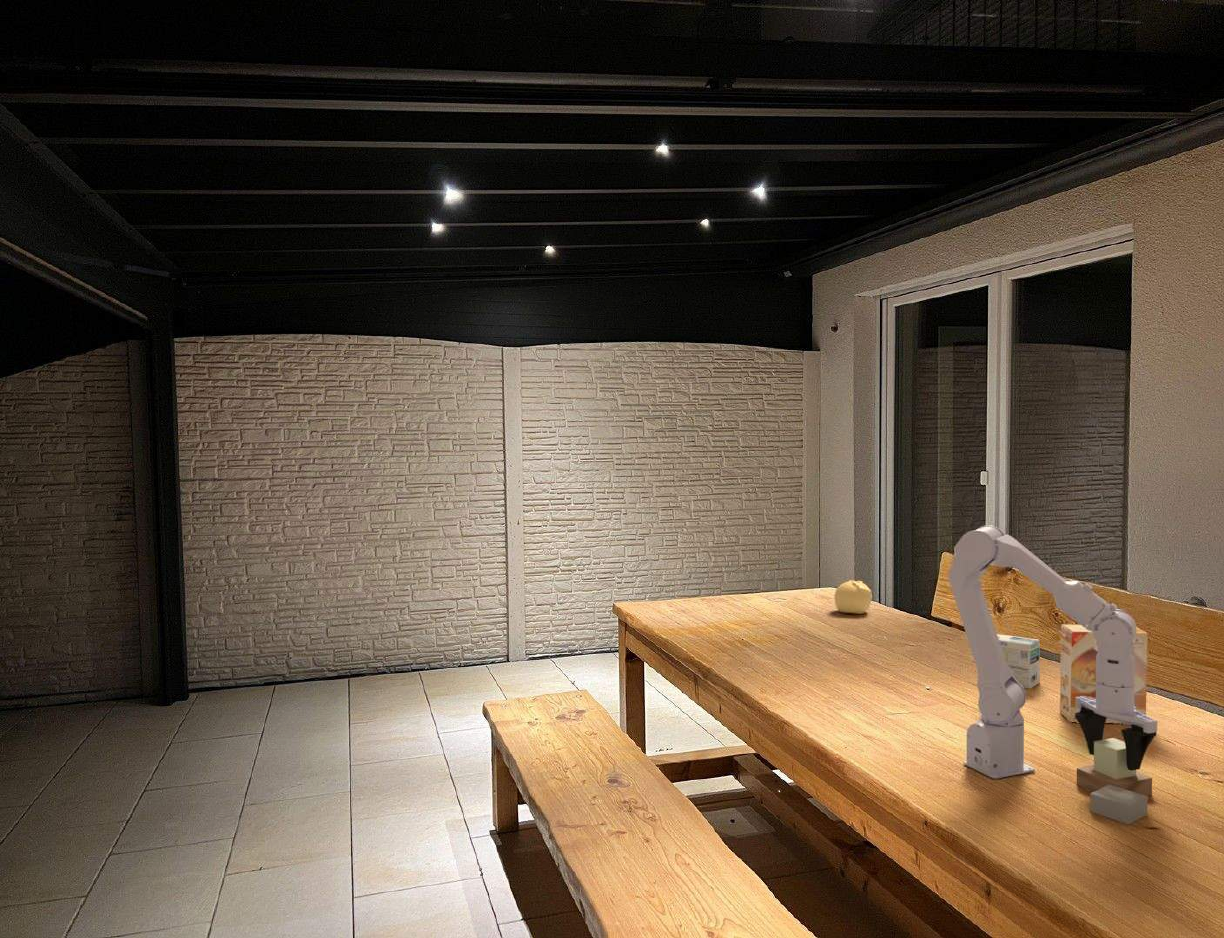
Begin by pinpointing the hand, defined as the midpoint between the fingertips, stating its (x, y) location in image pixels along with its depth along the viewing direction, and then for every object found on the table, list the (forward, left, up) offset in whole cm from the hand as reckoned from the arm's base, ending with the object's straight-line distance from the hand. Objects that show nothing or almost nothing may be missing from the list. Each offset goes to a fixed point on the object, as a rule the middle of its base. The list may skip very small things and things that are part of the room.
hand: (1114, 761), depth 155 cm
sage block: (0, 0, -2) cm, 2 cm away
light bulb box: (+32, +56, -5) cm, 65 cm away
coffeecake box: (+29, +28, -5) cm, 41 cm away
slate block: (-7, -7, -5) cm, 11 cm away
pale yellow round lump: (+44, +138, -5) cm, 145 cm away
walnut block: (0, 0, -5) cm, 5 cm away
